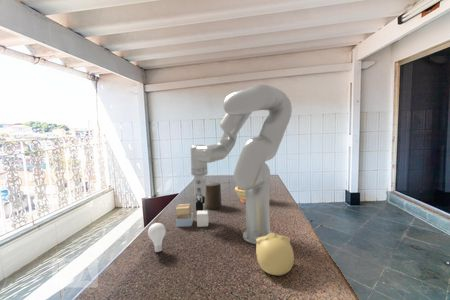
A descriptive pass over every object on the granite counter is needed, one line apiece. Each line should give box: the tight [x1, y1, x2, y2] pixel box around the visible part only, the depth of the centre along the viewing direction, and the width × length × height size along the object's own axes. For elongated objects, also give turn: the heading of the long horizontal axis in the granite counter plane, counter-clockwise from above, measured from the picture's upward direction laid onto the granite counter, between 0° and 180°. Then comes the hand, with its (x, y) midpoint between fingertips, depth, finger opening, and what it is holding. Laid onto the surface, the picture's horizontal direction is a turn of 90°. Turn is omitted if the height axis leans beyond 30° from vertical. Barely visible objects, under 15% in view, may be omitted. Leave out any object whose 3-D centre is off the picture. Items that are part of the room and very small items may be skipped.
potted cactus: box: [234, 185, 246, 204], centre depth 141 cm, size 15×15×25 cm
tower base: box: [175, 212, 194, 228], centre depth 112 cm, size 7×7×4 cm
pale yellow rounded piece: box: [255, 232, 295, 276], centre depth 73 cm, size 12×12×11 cm
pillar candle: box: [204, 181, 222, 211], centre depth 133 cm, size 10×10×15 cm
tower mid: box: [175, 203, 192, 219], centre depth 111 cm, size 6×6×5 cm
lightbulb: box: [147, 222, 166, 253], centre depth 87 cm, size 6×6×11 cm
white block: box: [196, 209, 209, 228], centre depth 110 cm, size 5×5×6 cm
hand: (200, 206), depth 110 cm, fingers open, 9 cm apart
